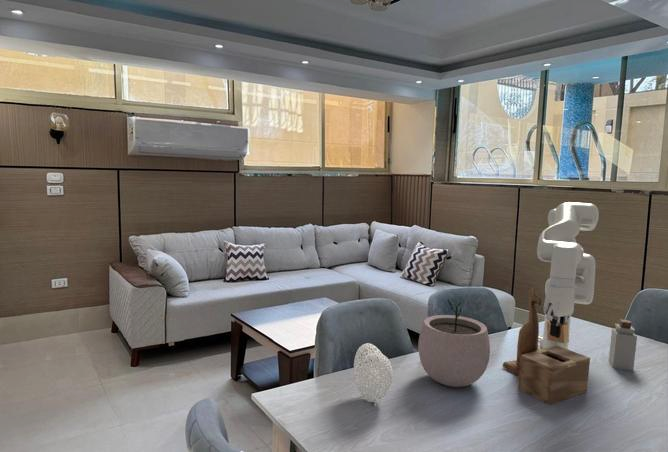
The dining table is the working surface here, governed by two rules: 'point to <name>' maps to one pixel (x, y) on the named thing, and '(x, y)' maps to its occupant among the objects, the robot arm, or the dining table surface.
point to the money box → (553, 374)
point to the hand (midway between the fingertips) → (557, 335)
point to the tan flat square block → (563, 333)
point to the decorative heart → (372, 373)
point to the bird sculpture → (527, 334)
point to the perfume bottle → (623, 346)
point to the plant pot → (454, 349)
